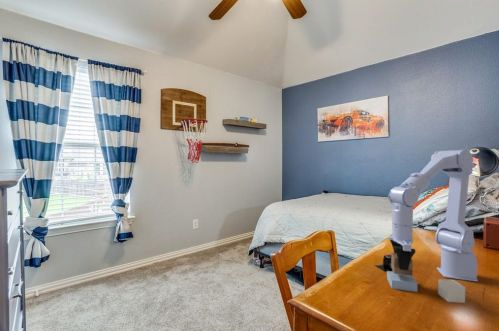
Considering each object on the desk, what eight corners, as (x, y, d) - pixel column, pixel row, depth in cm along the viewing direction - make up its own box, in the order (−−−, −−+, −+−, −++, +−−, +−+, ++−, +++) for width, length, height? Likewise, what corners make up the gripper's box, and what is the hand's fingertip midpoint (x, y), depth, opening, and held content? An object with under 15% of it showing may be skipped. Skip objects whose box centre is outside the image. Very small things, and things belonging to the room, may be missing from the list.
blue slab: (410, 282, 85) (410, 273, 85) (417, 293, 79) (417, 283, 78) (387, 279, 87) (387, 271, 87) (391, 289, 81) (391, 280, 81)
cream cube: (453, 294, 77) (454, 279, 77) (465, 302, 73) (465, 287, 73) (437, 294, 78) (438, 279, 77) (448, 302, 73) (448, 286, 73)
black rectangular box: (383, 275, 92) (383, 261, 91) (368, 266, 99) (368, 253, 99) (413, 271, 94) (413, 258, 94) (397, 263, 102) (397, 250, 102)
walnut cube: (408, 269, 84) (408, 254, 84) (412, 275, 80) (412, 260, 80) (391, 267, 86) (391, 252, 86) (394, 273, 81) (394, 257, 81)
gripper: (384, 218, 91) (384, 256, 91) (392, 228, 77) (391, 273, 77) (407, 220, 88) (407, 259, 89) (419, 230, 75) (418, 277, 75)
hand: (401, 266), depth 83 cm, fingers closed on walnut cube, 5 cm apart
